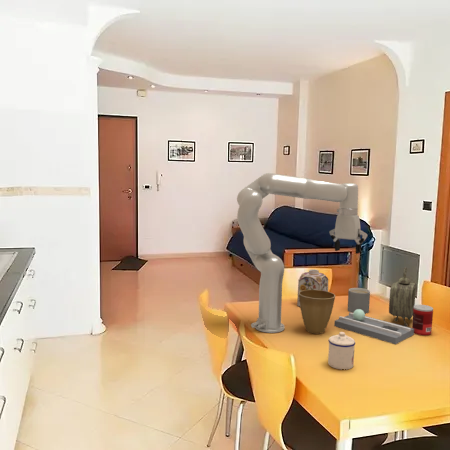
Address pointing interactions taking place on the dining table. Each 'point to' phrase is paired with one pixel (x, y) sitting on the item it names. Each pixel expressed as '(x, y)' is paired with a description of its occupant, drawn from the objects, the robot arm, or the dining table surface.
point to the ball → (358, 314)
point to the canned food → (422, 319)
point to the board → (375, 328)
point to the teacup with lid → (341, 351)
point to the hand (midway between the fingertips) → (347, 251)
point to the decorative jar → (312, 282)
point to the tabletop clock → (402, 298)
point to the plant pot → (316, 309)
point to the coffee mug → (358, 299)
